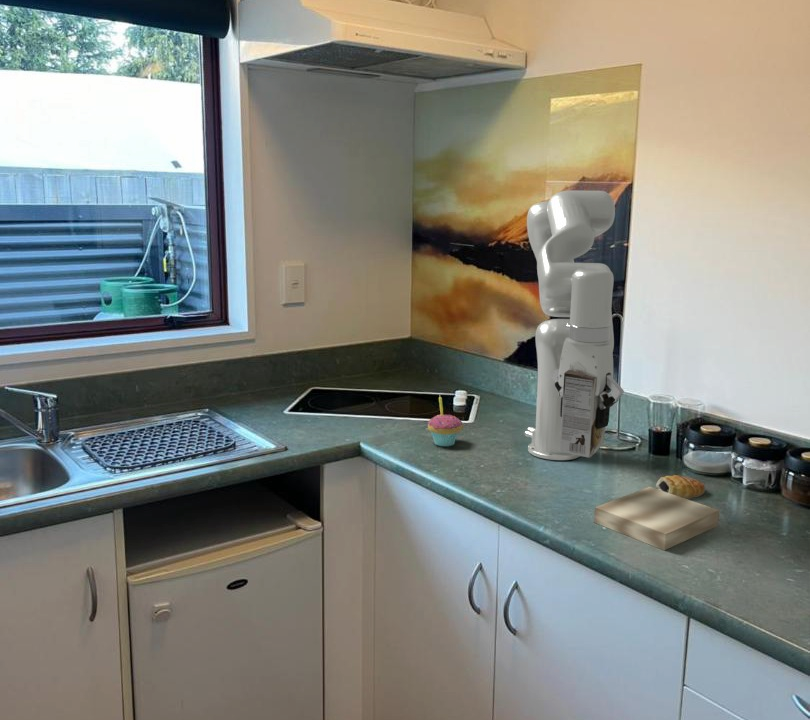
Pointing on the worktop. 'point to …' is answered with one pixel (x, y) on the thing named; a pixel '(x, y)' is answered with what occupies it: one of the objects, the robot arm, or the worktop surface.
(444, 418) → the cupcake
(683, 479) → the pastry
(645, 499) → the birch base
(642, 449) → the worktop surface
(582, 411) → the coffee box
